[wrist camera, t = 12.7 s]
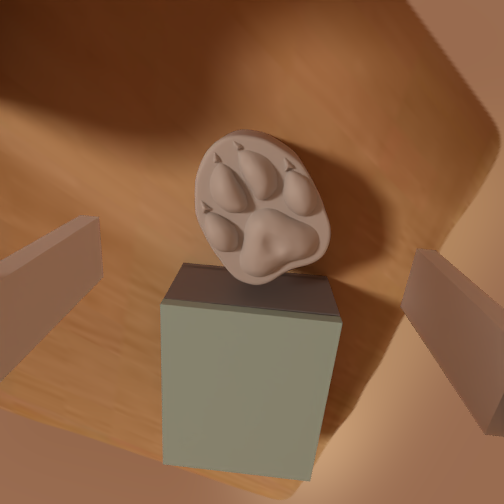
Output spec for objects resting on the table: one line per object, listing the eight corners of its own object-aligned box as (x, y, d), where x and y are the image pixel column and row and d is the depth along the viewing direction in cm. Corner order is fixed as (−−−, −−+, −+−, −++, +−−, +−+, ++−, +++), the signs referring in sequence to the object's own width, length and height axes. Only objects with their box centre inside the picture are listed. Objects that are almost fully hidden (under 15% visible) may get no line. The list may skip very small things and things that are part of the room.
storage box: (183, 263, 40) (164, 298, 33) (326, 276, 40) (339, 314, 32) (182, 400, 47) (165, 455, 40) (302, 412, 47) (309, 469, 40)
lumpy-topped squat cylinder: (244, 265, 40) (238, 304, 32) (183, 158, 36) (158, 173, 28) (331, 224, 38) (348, 256, 30) (277, 106, 34) (279, 105, 26)
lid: (163, 298, 32) (160, 304, 32) (340, 316, 32) (342, 323, 31) (165, 455, 40) (163, 464, 39) (309, 472, 39) (310, 481, 39)
